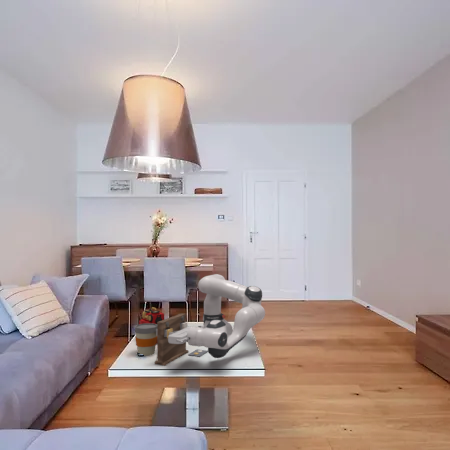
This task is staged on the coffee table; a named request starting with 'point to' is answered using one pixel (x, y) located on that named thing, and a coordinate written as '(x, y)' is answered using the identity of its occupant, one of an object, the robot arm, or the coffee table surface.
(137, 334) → the reusable coffee cup
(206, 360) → the coffee table surface
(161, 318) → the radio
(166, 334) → the yellow and grey block
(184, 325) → the off-white rectangular block
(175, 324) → the panel
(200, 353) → the card
